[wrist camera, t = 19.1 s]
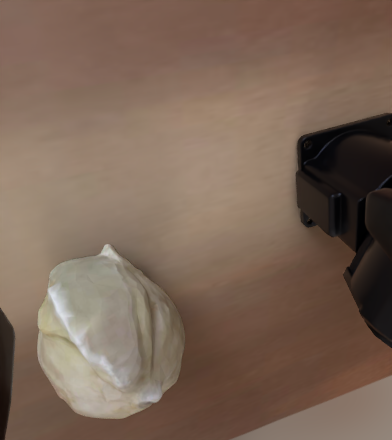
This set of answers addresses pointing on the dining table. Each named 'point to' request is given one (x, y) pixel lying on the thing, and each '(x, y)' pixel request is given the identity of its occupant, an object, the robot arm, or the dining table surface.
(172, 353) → the garlic bulb
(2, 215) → the dining table surface
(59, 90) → the dining table surface
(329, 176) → the robot arm
